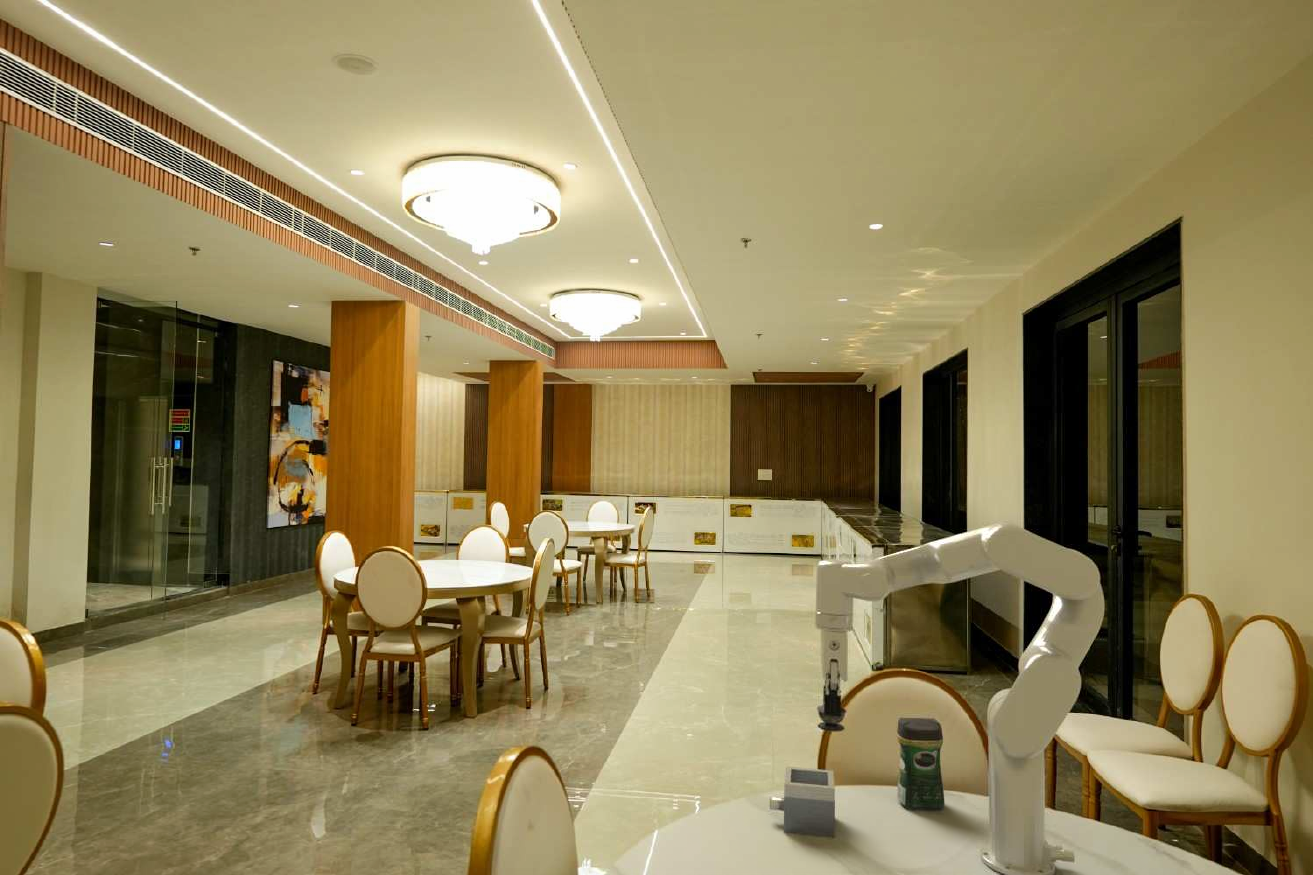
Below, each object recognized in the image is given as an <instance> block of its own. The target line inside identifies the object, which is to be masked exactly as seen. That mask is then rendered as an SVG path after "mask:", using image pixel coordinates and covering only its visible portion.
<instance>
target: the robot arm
mask: <svg viewBox="0 0 1313 875" xmlns="http://www.w3.org/2000/svg"><path fill="white" fill-rule="evenodd" d="M1000 570H1001V571H1003V572H1005V573H1007V574H1009V575H1011V576H1014V577H1015V578H1018V579H1019V580H1022V581H1024V582H1027V583H1029V584H1031V585H1033V586H1035V587H1038V588H1040V589H1042V590H1045V591H1046V592H1049V594H1050V593H1051V594H1052V603H1051V607H1050V609H1049V611H1048V613H1047V614H1046V617H1045V618H1044V621H1042V624H1041V626H1040V627H1039V629H1038V630H1037V632H1036V634H1035V635H1034V637H1033V638H1032V640H1031V642H1030V643H1029V645H1028V646H1027V648H1025V650H1024V651H1023V653H1022V654H1021V656H1020V657H1019V658H1020V659H1019V661H1018V671H1019V672H1018V676H1017V677H1016V679H1015V681H1014V683H1013V684H1012V686H1011V687H1010V688H1004V689H1002V690H1000V691H998V692H997V693H995V694H994V695H993V696H992V698H991V699H990V701H989V703H988V707H987V710H986V711H987V712H986V713H987V714H986V716H987V719H986V720H987V738H988V739H987V740H988V741H987V742H988V743H987V744H988V837H989V838H988V843H986V844H984V845H983V846H982V847H980V853H979V854H980V855H979V856H980V859H981V861H982V862H983V863H984V864H985V865H986V866H987V867H989V868H990V869H992V870H993V871H996V872H998V873H1000V874H1003V875H1054V874H1055V873H1056V865H1055V863H1056V862H1057V861H1062V862H1067V863H1074V862H1075V860H1076V859H1075V858H1076V857H1075V853H1074V850H1071V849H1070V850H1069V849H1068V850H1067V849H1063V847H1062V844H1049V843H1048V842H1047V840H1046V814H1045V813H1046V803H1045V802H1046V801H1045V800H1046V799H1045V798H1046V797H1045V796H1046V795H1045V788H1046V787H1045V786H1046V785H1045V783H1046V781H1045V780H1046V778H1045V776H1046V774H1045V773H1046V772H1045V769H1046V768H1045V749H1047V747H1048V745H1049V744H1050V742H1051V741H1052V740H1053V738H1054V737H1055V735H1056V733H1057V732H1058V731H1059V729H1060V727H1061V726H1062V724H1063V723H1064V721H1065V719H1066V718H1067V716H1068V715H1069V713H1070V712H1071V710H1072V709H1073V706H1074V705H1075V703H1076V701H1077V699H1078V697H1079V695H1080V691H1081V688H1082V676H1081V674H1080V670H1079V667H1080V665H1081V663H1082V662H1083V660H1084V658H1085V657H1086V655H1087V654H1088V651H1089V650H1090V649H1091V648H1090V647H1091V645H1092V644H1093V642H1094V640H1095V639H1096V637H1097V635H1098V633H1099V631H1100V629H1101V626H1102V624H1103V620H1104V616H1105V597H1104V592H1103V587H1102V584H1101V574H1100V571H1099V568H1098V566H1097V565H1096V564H1095V563H1094V561H1093V560H1092V559H1091V558H1090V557H1088V556H1086V555H1085V554H1083V553H1082V552H1080V551H1078V550H1076V549H1072V548H1067V547H1064V546H1062V545H1060V544H1058V543H1055V542H1054V541H1051V540H1048V539H1046V538H1044V537H1041V536H1039V535H1037V534H1035V533H1033V532H1031V531H1029V530H1027V529H1025V528H1023V527H1021V526H1019V525H1017V524H1015V523H1012V522H998V523H997V522H996V523H993V524H990V525H989V524H988V525H987V526H982V527H980V528H976V529H972V530H968V531H966V532H962V533H958V534H955V535H951V536H948V537H944V538H941V539H938V540H934V541H930V542H927V543H925V544H922V545H920V546H917V547H913V548H910V549H906V550H901V551H898V552H895V553H892V554H888V555H885V556H881V557H877V558H874V559H870V560H868V561H866V562H864V563H860V564H852V563H851V562H849V561H847V560H840V559H839V560H838V559H823V560H820V561H819V562H818V563H817V565H816V578H815V579H816V582H815V586H816V587H815V588H816V589H815V616H814V617H815V621H814V627H815V628H816V629H818V630H820V665H821V674H822V678H823V680H824V681H825V680H826V694H825V697H824V691H823V690H822V691H823V695H822V696H823V697H822V700H823V702H822V704H823V703H824V714H825V715H830V716H840V715H841V708H842V695H841V693H840V691H841V680H843V682H847V681H849V680H848V675H849V674H848V668H849V665H848V664H849V663H848V662H849V660H848V656H849V650H848V649H849V639H848V632H852V631H853V630H854V628H853V627H854V624H853V622H854V599H856V600H862V601H865V602H873V603H874V602H879V601H882V600H884V599H885V598H886V597H887V596H889V594H890V593H893V592H897V591H901V590H904V589H909V588H912V587H915V586H921V585H926V584H943V585H944V584H950V583H956V582H960V581H963V580H967V579H969V578H970V579H971V578H973V577H977V576H981V575H985V574H989V573H993V572H996V571H1000ZM828 676H831V679H828ZM837 677H838V679H837ZM829 682H831V684H829ZM823 689H825V684H824V685H823Z"/></svg>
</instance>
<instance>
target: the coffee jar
mask: <svg viewBox="0 0 1313 875" xmlns="http://www.w3.org/2000/svg"><path fill="white" fill-rule="evenodd" d="M896 737H897V740H898V743H899V749H900V751H899V752H900V753H899V754H900V755H899V756H900V757H899V771H898V772H899V774H898V782H897V800H898V802H899V803H900V805H902V806H903V807H906V808H907V809H910V810H917V811H939V810H942V809H943V808H944V807H945V794H944V793H945V792H944V784H943V777H942V768H941V748H942V747H943V743H944V736H943V729H942V725H941V723H940V722H939V721H938V720H937V719H936V718H933V717H932V718H931V717H929V718H928V717H925V718H924V717H899V719H898V722H897V730H896Z"/></svg>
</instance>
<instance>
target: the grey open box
mask: <svg viewBox="0 0 1313 875" xmlns="http://www.w3.org/2000/svg"><path fill="white" fill-rule="evenodd" d="M784 773H785V774H784V783H783V784H784V785H783V787H784V790H783V792H784V793H783V794H784V795H783V797H773V796H769V797H770V798H769V810H771V811H780V812H781V811H783V833H784V834H785V833H786V834H794V835H795V834H796V835H805V836H813V837H814V836H815V837H825V838H833V839H834V838H835V837H836V819H835V818H836V800H835V797H836V795H835V794H836V793H835V792H836V790H835V789H836V788H835V777H834V770H827V769H819V768H818V769H816V768H807V767H806V768H805V767H795V766H794V767H793V766H785V772H784Z"/></svg>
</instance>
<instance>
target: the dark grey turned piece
mask: <svg viewBox="0 0 1313 875" xmlns="http://www.w3.org/2000/svg"><path fill="white" fill-rule="evenodd" d="M828 679H831V676H828ZM837 679H838V677H837ZM829 684H831V682H829ZM824 685H825V689H824V688H823V689H822V691H824V697H825V694H826V680H825V679H824ZM841 693H842V691H841V690H840V694H841ZM816 710H817V713H818V716H819V718H820V720H821V722H820V723H818V724H817V727H818V728H819V730H820V729H821V730H823V731H827V732H831V733H835V732H843V731H844V730H845V727H844V726H843V725H842V724H841V722H843V721H844V718H845V714H846V713H847V709H845V708H843V707H841V715H840V716H830V715H825V714H824V703H823V702H822V705H819V706H817V707H816Z"/></svg>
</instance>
